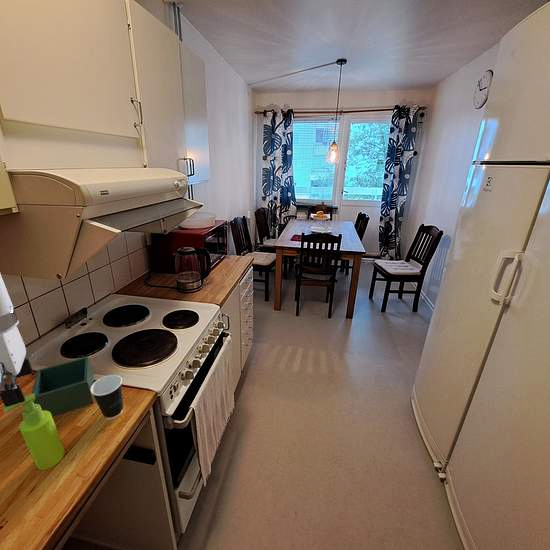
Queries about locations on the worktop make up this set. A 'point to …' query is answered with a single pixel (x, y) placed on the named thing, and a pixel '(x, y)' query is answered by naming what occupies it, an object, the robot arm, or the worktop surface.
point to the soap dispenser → (40, 434)
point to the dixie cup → (108, 395)
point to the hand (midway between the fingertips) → (20, 388)
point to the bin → (64, 386)
